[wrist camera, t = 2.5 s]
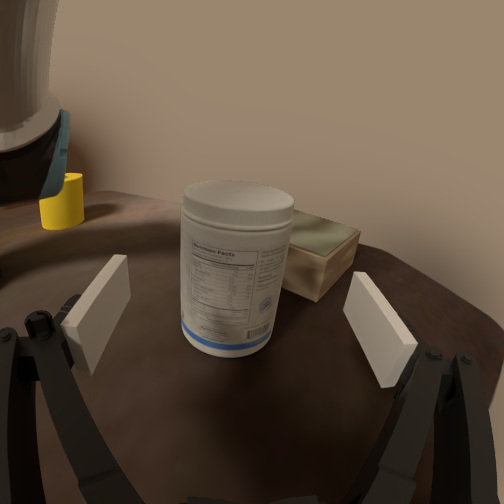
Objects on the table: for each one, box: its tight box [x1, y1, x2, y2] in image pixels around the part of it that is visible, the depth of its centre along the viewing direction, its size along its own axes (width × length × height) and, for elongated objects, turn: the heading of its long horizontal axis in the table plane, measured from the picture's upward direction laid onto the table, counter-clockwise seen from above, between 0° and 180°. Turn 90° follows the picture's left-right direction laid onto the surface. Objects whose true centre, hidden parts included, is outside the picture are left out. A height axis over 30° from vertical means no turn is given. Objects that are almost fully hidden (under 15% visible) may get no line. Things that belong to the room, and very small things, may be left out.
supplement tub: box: [180, 180, 294, 358], centre depth 27 cm, size 10×10×15 cm
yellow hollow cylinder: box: [39, 173, 84, 230], centre depth 51 cm, size 10×10×9 cm
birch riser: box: [281, 209, 361, 302], centre depth 47 cm, size 22×16×6 cm
